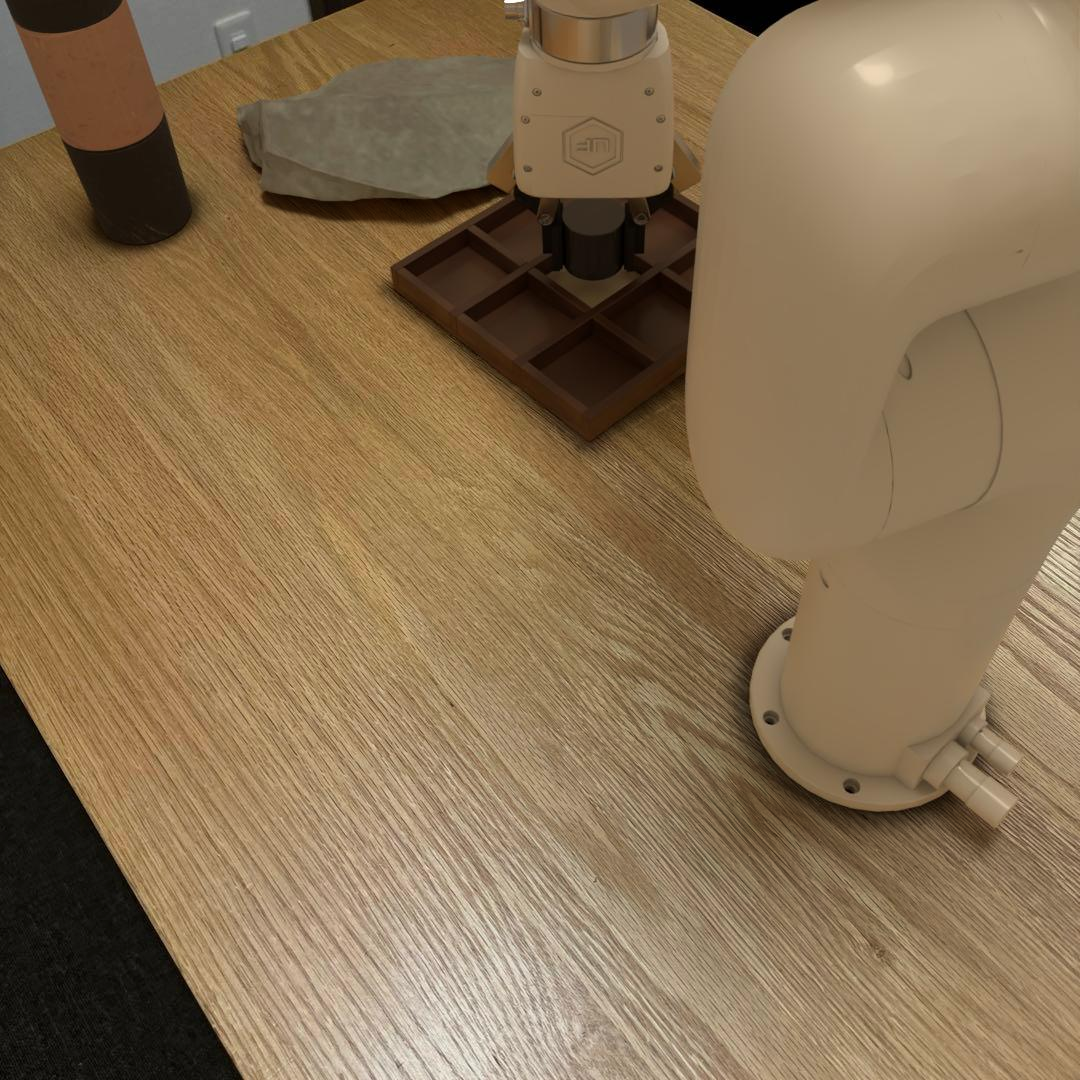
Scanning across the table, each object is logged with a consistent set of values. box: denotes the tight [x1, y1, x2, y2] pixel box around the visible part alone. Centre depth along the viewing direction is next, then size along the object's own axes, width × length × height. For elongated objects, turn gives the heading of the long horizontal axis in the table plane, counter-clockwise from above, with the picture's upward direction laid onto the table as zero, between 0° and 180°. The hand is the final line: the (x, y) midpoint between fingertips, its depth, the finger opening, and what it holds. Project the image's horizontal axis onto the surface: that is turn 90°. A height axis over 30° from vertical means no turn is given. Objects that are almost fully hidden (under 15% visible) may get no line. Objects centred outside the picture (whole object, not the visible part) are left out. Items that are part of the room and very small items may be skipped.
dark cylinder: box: [562, 198, 625, 281], centre depth 83 cm, size 4×4×4 cm
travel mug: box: [4, 0, 192, 245], centre depth 86 cm, size 8×8×20 cm
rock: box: [235, 54, 530, 202], centre depth 96 cm, size 27×6×20 cm
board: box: [389, 192, 700, 442], centre depth 86 cm, size 21×21×2 cm
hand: (593, 256), depth 84 cm, fingers closed on dark cylinder, 4 cm apart
